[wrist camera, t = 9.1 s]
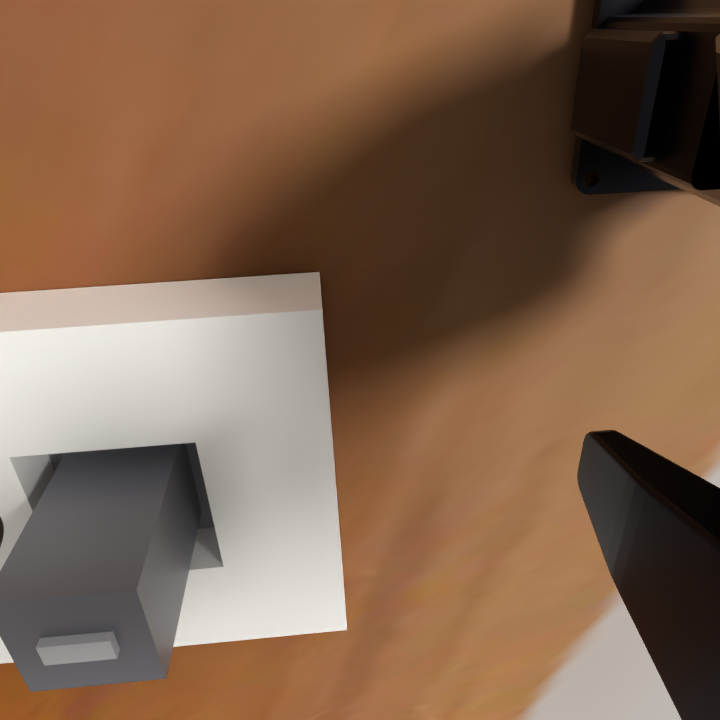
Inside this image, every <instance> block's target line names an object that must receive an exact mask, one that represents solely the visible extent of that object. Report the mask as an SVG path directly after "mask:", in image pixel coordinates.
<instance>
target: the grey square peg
mask: <svg viewBox="0 0 720 720" xmlns="http://www.w3.org/2000/svg"><path fill="white" fill-rule="evenodd" d="M200 516H201V506H200V502H199V498H198V493H197V489H196V485H195V481H194V476H193V472H192V468H191V463H190V459H189V455H188V450H187V446H186V443H182V444H169V445H157V446H144V447H132V448H120V449H107V450H95V451H82V452H70V453H65V454H64V456H63V458H62V460H61V461H60V463H59V465H58V467H57V469H56V471H55V472H54V474H53V476H52V478H51V480H50V481H49V483H48V485H47V487H46V489H45V491H44V492H43V494H42V496H41V498H40V500H39V501H38V503H37V505H36V507H35V509H34V511H33V512H32V514H31V516H30V518H29V520H28V521H27V523H26V525H25V527H24V529H23V531H22V532H21V534H20V536H19V538H18V540H17V541H16V543H15V545H14V547H13V549H12V551H11V552H10V554H9V556H8V558H7V560H6V562H5V563H4V565H3V567H2V569H1V571H0V637H1V639H2V641H3V643H4V644H5V646H6V648H7V650H8V652H9V654H10V655H11V657H12V659H13V661H14V663H15V665H16V666H17V668H18V670H19V672H20V674H21V676H22V677H23V679H24V681H25V683H26V685H27V686H28V688H29V690H30V692H33V691H43V690H53V689H63V688H74V687H84V686H94V685H104V684H115V683H125V682H135V681H145V680H156V679H166V678H167V674H168V669H169V664H170V659H171V655H172V650H173V645H174V640H175V635H176V631H177V626H178V621H179V616H180V612H181V607H182V602H183V597H184V592H185V588H186V583H187V578H188V573H189V568H190V564H191V559H192V554H193V549H194V545H195V540H196V535H197V530H198V525H199V521H200Z"/></svg>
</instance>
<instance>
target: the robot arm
mask: <svg viewBox="0 0 720 720" xmlns="http://www.w3.org/2000/svg"><path fill="white" fill-rule="evenodd" d="M571 129H572V130H573V132H574V133H575V134H576V135H577V137H576V144H575V151H574V158H573V166H572V173H571V183H572V185H573V187H574V188H575V189H577V190H578V191H580V192H581V193H583V194H588V195H590V194H606V193H623V192H639V191H655V190H672V189H683V190H685V191H687V192H689V193H691V194H694V195H696V196H698V197H700V198H702V199H705V200H707V201H709V202H711V203H713V204H715V205H718V206H720V0H595V7H594V15H593V22H592V29H591V30H590V31H589V32H588V34H587V35H586V36H585V37H584V38H583V41H582V48H581V56H580V63H579V71H578V78H577V86H576V93H575V101H574V108H573V115H572V123H571ZM592 170H593V171H594V177H593V179H592V180H591V181H590V182H589V183H586V184H584V180H583V179H584V176H585V174H586V173H588V172H589V171H592ZM577 478H578V485H579V489H580V492H581V495H582V497H583V500H584V503H585V506H586V508H587V511H588V514H589V517H590V519H591V522H592V525H593V528H594V530H595V533H596V536H597V539H598V542H599V544H600V547H601V550H602V553H603V555H604V558H605V561H606V563H607V566H608V569H609V571H610V574H611V576H612V578H613V581H614V583H615V585H616V587H617V589H618V591H619V593H620V595H621V597H622V599H623V601H624V604H625V606H626V608H627V610H628V612H629V614H630V616H631V618H632V620H633V622H634V624H635V626H636V628H637V630H638V632H639V634H640V636H641V638H642V640H643V642H644V644H645V646H646V648H647V650H648V652H649V654H650V656H651V658H652V660H653V662H654V664H655V666H656V668H657V671H658V672H659V675H660V676H661V679H662V681H663V682H664V685H665V687H666V689H667V691H668V693H669V695H670V697H671V699H672V701H673V703H674V705H675V707H676V709H677V711H678V713H679V715H680V717H681V719H682V720H720V488H719V487H717V486H715V485H713V484H711V483H710V482H708V481H706V480H704V479H702V478H701V477H699V476H697V475H695V474H693V473H692V472H690V471H688V470H686V469H684V468H682V467H681V466H679V465H677V464H675V463H673V462H672V461H670V460H668V459H666V458H664V457H663V456H661V455H659V454H657V453H655V452H654V451H652V450H650V449H648V448H646V447H645V446H643V445H641V444H639V443H637V442H636V441H634V440H632V439H630V438H628V437H627V436H625V435H623V434H621V433H619V432H617V431H615V430H603V431H592V432H589V433H588V434H586V436H585V438H584V442H583V447H582V452H581V457H580V462H579V468H578V474H577ZM3 536H4V526H3V521H2V519H1V517H0V547H1V544H2V540H3Z"/></svg>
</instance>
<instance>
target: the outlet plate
mask: <svg viewBox="0 0 720 720" xmlns="http://www.w3.org/2000/svg"><path fill="white" fill-rule="evenodd" d="M182 443H186V446H187V450H188V455H189V459H190V463H191V468H192V472H193V476H194V481H195V485H196V489H197V493H198V498H199V502H200V506H201V516H200V521H199V525H198V530H197V535H196V540H195V545H194V549H193V554H192V559H191V564H190V568H189V573H188V578H187V583H186V588H185V592H184V597H183V602H182V607H181V612H180V616H179V621H178V626H177V631H176V635H175V640H174V645H173V647H176V646H186V645H197V644H207V643H217V642H228V641H238V640H248V639H258V638H269V637H279V636H289V635H300V634H310V633H320V632H330V631H341V630H347V623H346V608H345V594H344V579H343V566H342V553H341V540H340V527H339V514H338V502H337V489H336V476H335V463H334V450H333V437H332V425H331V412H330V399H329V386H328V373H327V360H326V348H325V335H324V322H323V309H322V296H321V283H320V272H311V273H295V274H280V275H265V276H250V277H235V278H220V279H205V280H190V281H175V282H160V283H145V284H130V285H115V286H100V287H85V288H70V289H55V290H40V291H25V292H10V293H0V517H1V519H2V521H3V526H4V536H3V540H2V544H1V547H0V571H1V569H2V567H3V565H4V563H5V562H6V560H7V558H8V556H9V554H10V552H11V551H12V549H13V547H14V545H15V543H16V541H17V540H18V538H19V536H20V534H21V532H22V531H23V529H24V527H25V525H26V523H27V521H28V520H29V518H30V516H31V514H32V512H33V511H34V509H35V507H36V505H37V503H38V501H39V500H40V498H41V496H42V494H43V492H44V491H45V489H46V487H47V485H48V483H49V481H50V480H51V478H52V476H53V474H54V472H55V471H56V469H57V467H58V465H59V463H60V461H61V460H62V458H63V456H64V454H65V453H70V452H82V451H95V450H107V449H120V448H132V447H144V446H157V445H169V444H182ZM11 662H14V661H13V659H12V657H11V655H10V654H9V652H8V650H7V648H6V646H5V644H4V643H3V641H2V639H1V637H0V664H1V663H11Z"/></svg>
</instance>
